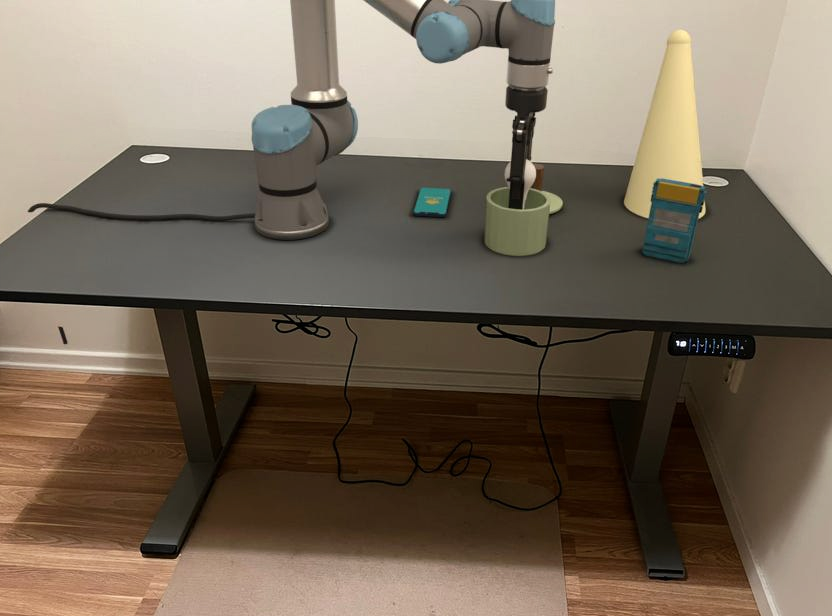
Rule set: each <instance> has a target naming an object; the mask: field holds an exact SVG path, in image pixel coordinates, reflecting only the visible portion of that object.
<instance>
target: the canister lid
mask: <svg viewBox="0 0 832 616" xmlns="http://www.w3.org/2000/svg"><path fill="white" fill-rule="evenodd" d="M533 165H534V167H535V170H536V178H535V181H534V183H533V184H532V186H531V187H530V188H532V189H536V190H539V191H541V192H544V193H545V194H547V195H548V196H549V197H550V199H551V203H550V212H549V215H551V214H554V213H557V212H559V211H560V210H562V208H563V204H564V203H563V200H562V198H561V197H560V196H559V195H556V194H554V193H552V192H549V191H545V190H543V181H544V172H545V171H544V170H545V166H544V165H543V164H540V163H533Z"/></svg>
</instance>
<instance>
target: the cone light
mask: <svg viewBox="0 0 832 616" xmlns="http://www.w3.org/2000/svg"><path fill="white" fill-rule="evenodd" d="M659 69H660V70H659V74H658V77H657V81H656V85H655V87H654V91H653V95H652V99H651V103H650V106H649V110H648V113H647V116H646V120H645V123H644V128H643V131H642V135H641V138H640V142H639V146H638V148H637V153H636V156H635V161H634V164H633V167H632V171H631V174H630V178H629V182H628V185H627V189H626V192H625V195H624V200H623V205H624V206H625V208H626V209H627V210H628V211H630V212H631V213H633V214H635V215H637V216H640V217H642V218H646V219H649V213H650V208H651V203H652V202H651V196H652V194H653V193H652V190H653V184H654V182H656V180H657V178H659V179H662V178H663V179H669V180H674V181H680V182H686V183H691V184H697V185H702V186H704V178H703V177H704V176H703V167H702V155H701V144H700V133H699V121H698V112H697V99H696V89H695V78H694V77H695V76H694V67H693V55H692V38H691V35H690V34H689V32H688V31H686V30H684V29H677V30H674V31H673V32H671V34H669V36H668V38H667V39H666V48H665V53H664V55H663V58H662V63H661V66H660V68H659ZM702 207H703V208H702V212H701V213H700V214H699V218H698V220H699V219H701V218H702V217H704V216H705V215H706V212H707V211H706V200H705V201H704V204H703V206H702Z"/></svg>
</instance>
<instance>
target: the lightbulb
mask: <svg viewBox="0 0 832 616" xmlns="http://www.w3.org/2000/svg"><path fill="white" fill-rule="evenodd" d="M532 163H533V162H532V161H529V160H527V159H526V166H525V174H524V179H525V180H524V181H525V186H524V198H523V210H524V204H525V201H526V197H527V193H528V191H529V189H530V187H531V186H532V184H533V183H534V181H535V178H536V170H535V167H534V165H533V164H534V163H533V164H532ZM510 166H511V161H509V162H508V164H507V165H506V166H505V169H504V181H505V183H506V185H507V187H509V190H510V182H507V178H509V177H510Z"/></svg>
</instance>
